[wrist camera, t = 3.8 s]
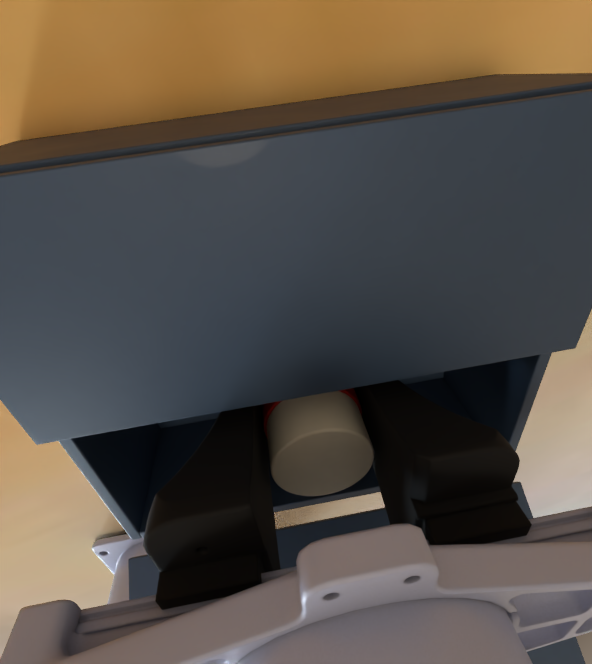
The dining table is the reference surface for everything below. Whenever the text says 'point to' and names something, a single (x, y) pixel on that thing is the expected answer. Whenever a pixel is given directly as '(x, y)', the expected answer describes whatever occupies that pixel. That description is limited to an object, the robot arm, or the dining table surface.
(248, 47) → the dining table surface
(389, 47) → the dining table surface
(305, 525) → the flap
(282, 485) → the red-banded cylinder
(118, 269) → the carton
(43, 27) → the dining table surface
